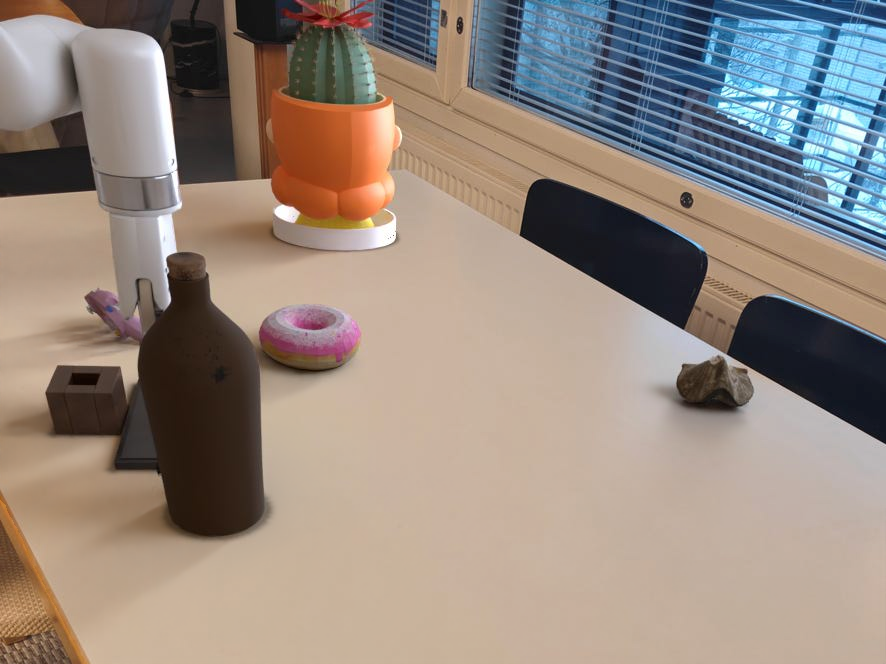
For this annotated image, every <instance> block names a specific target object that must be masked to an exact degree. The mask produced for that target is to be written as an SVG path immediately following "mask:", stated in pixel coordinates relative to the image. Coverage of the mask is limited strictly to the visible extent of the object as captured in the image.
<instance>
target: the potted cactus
mask: <svg viewBox="0 0 886 664" xmlns="http://www.w3.org/2000/svg"><path fill="white" fill-rule="evenodd" d="M292 1H293V2H295V3H297V4H298V5H300V6H302V7H303V8H305V9H307V10H309V13H307V12H298V13H296V12H293V11H290V10H288V9H286V8H282V9H281V15H283V16H285V17H286V18H289V19H292V20H295V21H300V22H304V23H308V24H306V26H305V25H303V26H302V25H301V27H300V30H301V32H302V34H301V33H300V31H298V32H296V33H295V35H296V36H297V41H295V40H292V42H290V43H291V45H290V46H292V47H293V48H294V49H293V51H292V50H291V49H290V48H288V50H289V51H288V50H286V52H287V54H288V57H289V56H290V57H291V58H290V61H289V60H287V61H286V63H285V66H287V67H284V68H289V71H288V70H286V71H284V72H283V74H284V76H286V77H287V78H288V81H286V80H285V85H284V86H282V87H280V88H279V89H278V88H272V90H271V100H270V118H269V119H268V120H267V122H266V125H265V133H266V136H267V139H268V140H269V141H270V142H271V143H272V144H274V148H275V152H276V154H277V156H278V160H279V161H280V165H278V166H277V167H276V168H275V169H274V170H273V173H272V175H271V179H270V180H271V181H270V187H271V192H272V194H273V196H274V198H275V199H276V200H277V201H278V202H279V205H277V206H275V207H274V208H273V209H272V212H271V213H272V228H273V229H272V230H273V235H274V236H275V237H276V238H277V239H279V240H281V241H282V242H283V241H284V242H286V243H288V244H291V245H295V246H299V247H304V248H310V249H318V250H325V251H326V250H327V251H365V250H372V249H378V248H381V247H385V246H388V245H390V244H392V243H393V242H395V240H396V232H397V231H396V227H397V226H396V225H397V217H396V214H394V212H392V211H390V210H388V209H386V208H385V207H387V206H388V205H389V204H390V203H391V202H392V200H393V198H394V195H395V189H396V188H395V182H394V178H393V177H392V175H391V174H390V173H389V172H388V171H387V170H388V167H389V165H390V163H391V159H392V154H393V151H395V150H397V149H398V148H399V147H400V145H401V143H402V139H403V135H402V129H400V127H399V126H398V125H397V124H395V122H396V121H395V120H396V119H395V109H394V101H393V98H392V96H390V95H388V96H385V95H384V94H382V93H381V92H379V91H377V90H379V87H377V85H376V84H378V85H380V81H381V80H376V79H377V78H379V76H377V77H375V74H379V71H378V66H377V67H375V68H374V65H373V64H372V63H374V62H376V58H375V56H374V54H372V53H373V51H371V50H372V48H369V46H370V45H368V46H367V48H366V46H365V45H366V44H367V43H369V40H367V37H365V35H363V37H364V38H362V39H361V37H360V36H361V34H363V32H364V31H363V32H362V31H361V30H359V29H367V28H371V26H373V23H372V21H371V20H368V19H370V18H372V17H375V16H376V14H375V13H374V12H372V11H360V12H357V13H356V12H355V11H356V10H359V9H361V8H363V7H364V6H365V5H366V4H368V3H370V2H375V0H365V1H361V2H360V3H359V4H357V5H356V6H354V7H352V8H351V9H348V10H346V11H344V12H342V10H340V9H339V8H340V7H342V6H343V4H342V2H339V1H337V0H336V2H335V4H336V6H337V7H335V6H333V3H332V0H326V2H325V1H324V0H322V2H321V0H319V2H318V3H315V4H312V5H310V4H308V3H307V2H306V1H304V0H292ZM329 4H330V5H329ZM353 12H355V13H353ZM352 13H353V14H352ZM354 29H357V30H356V31H354ZM366 40H367V41H366ZM370 54H371V56H370ZM376 87H377V88H376ZM298 215H299V216H298ZM293 216H294V217H293ZM371 218H374V219H377V220H380V221H383V222H385V223H387V224H384V223H381V222H379V221H375V220H372V219H371ZM395 231H396V232H395ZM393 235H394V236H393ZM390 237H391V238H390ZM388 238H389V239H388Z"/></svg>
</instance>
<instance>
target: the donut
mask: <svg viewBox="0 0 886 664" xmlns="http://www.w3.org/2000/svg"><path fill="white" fill-rule="evenodd" d="M360 329H361V328H360V327H359V324H358V322H357V321H356V320H355V319H354V318H353V317H352V316H350V315H349V314H348V313H347V312H345V311H343V310H341V309H339V308H336V307H333V306H329V305H323V304H317V303H315V304H314V303H305V304H294V305H288V306H284V307H281V308H278V309H276V310H274V311H273V312H272V313H270V314H269V315H267V316H266V317H265V318H264V319H263V320H262V323H261V325H260V327H259V330H258V340H259V343H260V346H261V347H262V349H263V351H264V352H265V353H266V354H267V355H268V356H269V357H271V358H272V359H273V360H274V361H276V362H277V363H279V364H282V365H285V366H287V367H290V368H295V369H299V370H300V369H301V370H309V371H313V370H314V371H323V370H330V369H334V368H337V367H340V366H342V365H345V364H346V363H348V362H350V361H351V360H352V359H353V358H354V357H355V356H356V355H357V354H358V351H359V350H360V347H361V344H362V331H361V330H360Z"/></svg>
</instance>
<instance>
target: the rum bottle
mask: <svg viewBox="0 0 886 664" xmlns="http://www.w3.org/2000/svg"><path fill="white" fill-rule="evenodd" d="M166 262H167V267H168V269H169V272H168V273H167V279H168V285H169V291H170V296H171V302H170V304H169V306H168V307H167V308H166V309H165V311H164V312H163V313H162V314H161V315H160V317H159V318H158V319H157V320H156V321H155V322H154V324H153V325H152V326H151V327H150V328H149V330H148V331H147V332H146V334H145V335H144V337H143V339H142V341H140V345H139V350H138V355H137V376H138V378H139V382H140V386H141V390H142V394H143V399H144V403H145V407H146V411H147V415H148V420H149V424H150V428H151V433H152V437H153V442H154V446H155V450H156V455H157V459H158V464H157V465H156V469H155V470H156V473H157V477H158V478H159V477H161V481H162V485H163V490H164V491H163V492H164V497H165V501H166V505H167V509H168V515H169V517H170V519H171V521H172V522H173V523H174V525H176V526H177V527H178V528H180V529H182V530H183V531H185V532H187V533H190V534H195V535H198V536H208V537H217V536H218V537H219V536H221V537H222V536H227V535H228V536H229V535H232V534H237V533H240V532H243V531H245V530H247V529H249V528H251V527H253V526H254V525H255V524H256V523H258V521H260V520H261V519H262V517H263V516H264V512H265V489H264V487H265V486H264V470H263V442H262V441H263V440H262V400H261V397H262V396H261V394H262V393H261V391H262V390H261V367H260V362H259V358H258V356H257V355H258V354H257V353H256V349H255V348H254V345H253V343H252V341H251V339H250V337H249V336H248V334H246V332H245V331H244V330H243V329H242V328H241V327H240V326H239V325H238V324H237V323H235V321H233V320H232V319H231V318H230V317H229V315H227V314H226V313H224V312H223V311H222V310H221V309H220V308H219V307H218V306H216V304H215V303H214V302H213V301H212V298H211V285H210V275H209V273H208V272H207V260H206V257H205V256H204V255H203V254H200V253H197V252H194V251H193V252H192V251H177V253H173V254H171V255H169V256H167V258H166Z"/></svg>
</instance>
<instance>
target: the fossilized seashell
mask: <svg viewBox="0 0 886 664" xmlns="http://www.w3.org/2000/svg"><path fill="white" fill-rule="evenodd" d="M748 374H749V370H748V368H745V367H737V366H734V365H731V364H730V365H729V363H728V361H727V359H726V358H725V357H724V356H723V355H722V354H717V355H713V356H711V357H710V358H709V359H707V360H704V361H702V362H700V363H685V362H684V363H682V364H681V370H680V372H679V373H678V375H677V378H676V382H675V385H676V389H677V392H678V393H679V395H680V397H681V398H682V400H684V401H686V402H688V403H693V404H697V403H706V402H708V401H712V400H715V399H716V400H718V401H719V402H722V403H724V404H725V405H727V406H729V407H732V408H733V407H734V408H740V407H743V406H745V405H747V404H748V403H749V402H750V400H751V399H752V398H753V397H754V393H755V387H754V385H753V383H752V380H751V378H750V376H749V375H748Z"/></svg>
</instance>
